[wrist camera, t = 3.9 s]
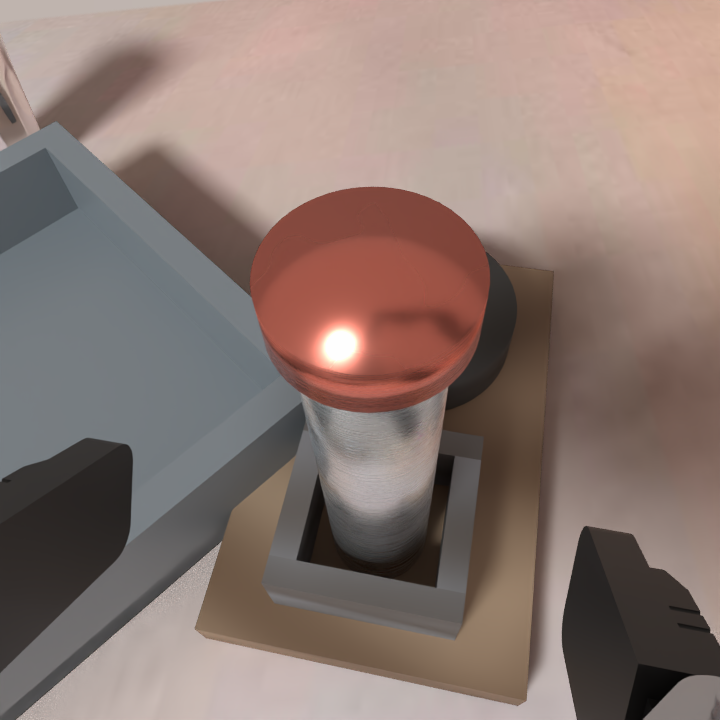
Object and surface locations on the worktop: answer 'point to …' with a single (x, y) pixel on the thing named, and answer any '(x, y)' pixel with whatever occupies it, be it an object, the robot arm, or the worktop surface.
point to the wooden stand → (442, 544)
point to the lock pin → (372, 352)
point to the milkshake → (13, 104)
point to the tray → (126, 381)
